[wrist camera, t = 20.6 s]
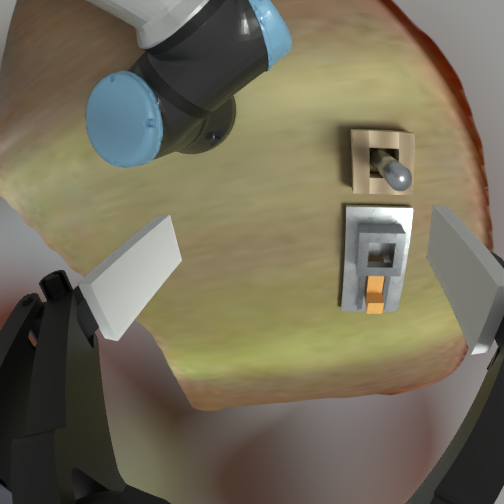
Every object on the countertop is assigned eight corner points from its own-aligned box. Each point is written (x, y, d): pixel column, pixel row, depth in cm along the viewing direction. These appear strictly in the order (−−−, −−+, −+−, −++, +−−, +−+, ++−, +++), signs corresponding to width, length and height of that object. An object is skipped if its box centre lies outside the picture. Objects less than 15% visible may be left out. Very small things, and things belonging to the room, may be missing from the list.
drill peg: (371, 168, 44) (387, 190, 32) (370, 149, 43) (388, 165, 31) (389, 169, 43) (411, 191, 31) (389, 150, 42) (412, 166, 30)
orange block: (364, 297, 54) (366, 313, 50) (368, 260, 50) (371, 275, 46) (379, 297, 53) (382, 313, 49) (384, 261, 50) (388, 275, 45)
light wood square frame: (351, 187, 47) (353, 193, 44) (350, 128, 42) (352, 130, 39) (407, 189, 44) (412, 195, 41) (408, 131, 40) (414, 133, 37)
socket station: (341, 307, 58) (341, 324, 54) (345, 204, 48) (347, 214, 44) (396, 308, 55) (400, 324, 50) (411, 206, 45) (419, 216, 41)
